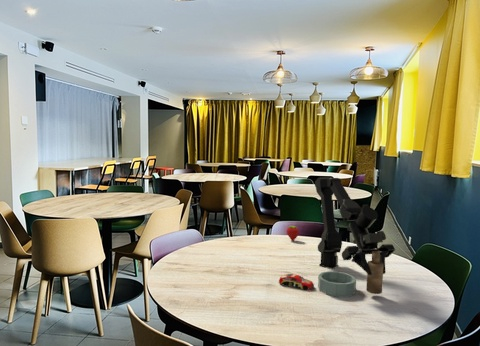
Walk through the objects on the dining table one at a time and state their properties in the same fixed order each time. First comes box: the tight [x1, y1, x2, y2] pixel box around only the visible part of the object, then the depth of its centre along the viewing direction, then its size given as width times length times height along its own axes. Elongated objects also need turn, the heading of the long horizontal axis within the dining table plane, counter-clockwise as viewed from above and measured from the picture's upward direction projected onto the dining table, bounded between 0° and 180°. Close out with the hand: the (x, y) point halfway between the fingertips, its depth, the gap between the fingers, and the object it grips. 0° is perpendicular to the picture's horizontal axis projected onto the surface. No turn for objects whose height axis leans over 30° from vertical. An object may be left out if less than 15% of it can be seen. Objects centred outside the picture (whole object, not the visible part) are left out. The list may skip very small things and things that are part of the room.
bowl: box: [317, 270, 357, 298], centre depth 132 cm, size 13×13×4 cm
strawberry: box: [286, 225, 300, 242], centre depth 200 cm, size 6×8×10 cm
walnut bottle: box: [366, 251, 384, 295], centre depth 126 cm, size 5×5×14 cm
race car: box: [278, 273, 315, 291], centre depth 136 cm, size 13×5×4 cm, turn 62°
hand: (377, 273), depth 125 cm, fingers closed on walnut bottle, 5 cm apart
